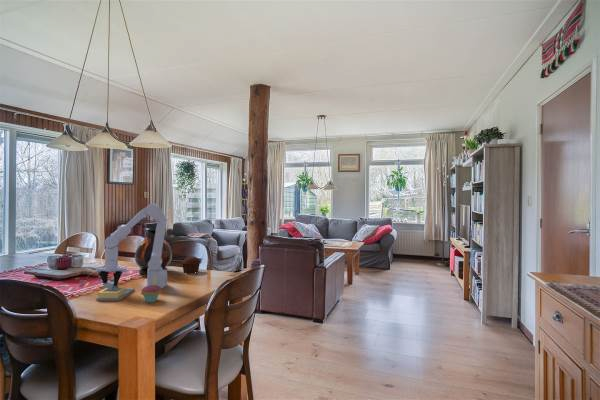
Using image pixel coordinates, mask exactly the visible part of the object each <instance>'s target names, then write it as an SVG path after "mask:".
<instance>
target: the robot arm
mask: <svg viewBox="0 0 600 400" xmlns="http://www.w3.org/2000/svg"><path fill="white" fill-rule="evenodd" d="M165 214H166V213H164V211H163V209H162V207H161V206H160V205H158V204H157V203H150V204H148V205H147V206H146V207H144V208H142V209H141V210H140V211H138V212H137V213H136V214H135V216H133V217H132V218H131V219H130V220H129V221H128V222H127V223H126V224H121V225H118V226H117V229H116V230H115V231H114V232H112V233H110V235H109V236H107V237H106V239H104V246H105V250H104V267H95V269H94V271H95V273H98V275H99V277H100V279H101V280H102V281H101V282H102V285H103V284H104V283H106V282H108V281H109V279H108V278H109V273H112V272H113V274H112V276H113V279H114V286H117V285H118V286H119V280H120V278H121V276H122V275H123V273H127V272H128V269H127V267H121V266H119V264H118V262H119V261H118V260H119V244H120V243H121V242H122V241H123V240H125V238H126V237H127V236H128V235H130V234H131V232H132V228H133V227H134V226H136V225H137V224H138V223H139V222H140V221H141V220H142V219H145V218H148V217H151V218H152V219H153V220H155V222H156V233H155V239H154V245H153V251H152V255H151V259H150V261H149V262H148V273H147V279H146V281H147V282H146V285H145V286H144V287H147V286H149V285H154V279H155V276H157V277H156V282H155V285H157V286H160V288H161V289H163V288H165V287H166V286H168V269H167V270H163V269H162V267H161V264H162V258H161V254H162V247H163V240H164V239H165V235H166V234H165V233H166V230H165V229H166V227H167V222H168V221H167V220H168V219H167V216H166V215H165ZM156 274H157V275H156Z"/></svg>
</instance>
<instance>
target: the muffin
mask: <svg viewBox="0 0 600 400" xmlns="http://www.w3.org/2000/svg"><path fill="white" fill-rule="evenodd" d="M181 264H182V271H183V274H185V273H195V272H199V269H200V264H201V260H200V259H199V258H198V257H196V256H193V255H191V256H190V255H189V256H187V257H185V258H184V259H183V260H182V262H181ZM195 274H196V273H195Z"/></svg>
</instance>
